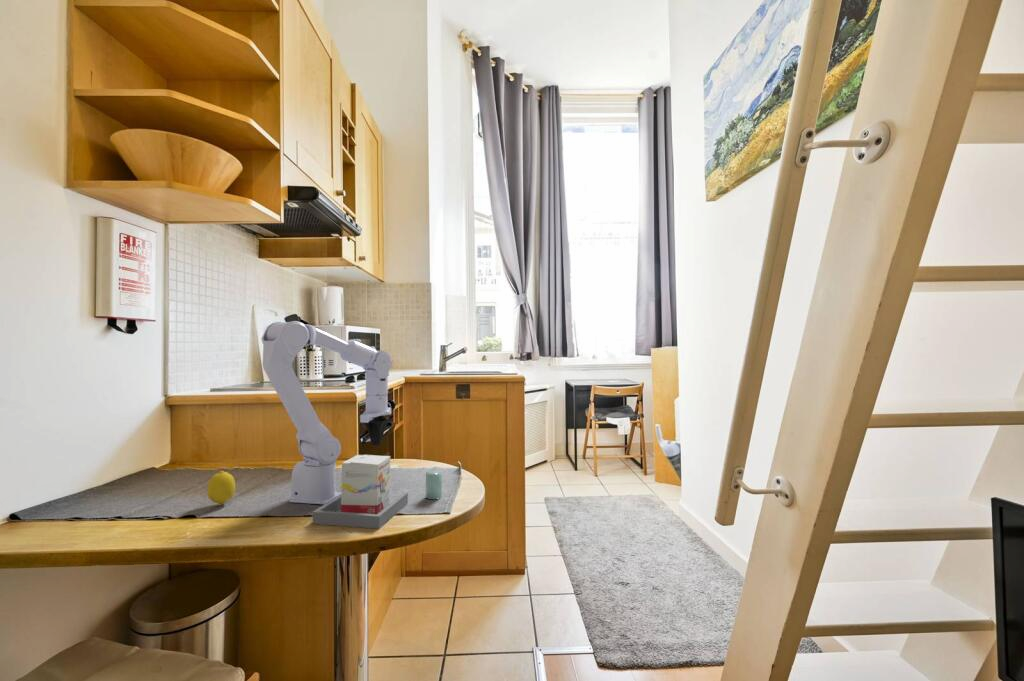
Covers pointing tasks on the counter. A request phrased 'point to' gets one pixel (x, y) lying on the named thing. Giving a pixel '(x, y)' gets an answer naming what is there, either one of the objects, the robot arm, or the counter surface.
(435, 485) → the teal ceramic jar
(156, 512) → the counter surface
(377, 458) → the ink box
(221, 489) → the lemon
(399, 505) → the tray
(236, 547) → the counter surface
